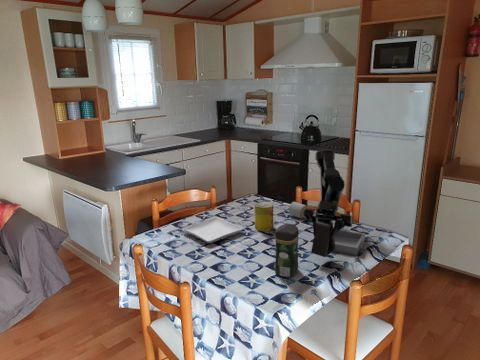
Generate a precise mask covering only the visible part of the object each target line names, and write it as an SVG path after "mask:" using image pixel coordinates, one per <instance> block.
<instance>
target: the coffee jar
mask: <svg viewBox="0 0 480 360" xmlns="http://www.w3.org/2000/svg"><path fill="white" fill-rule="evenodd" d="M274 235H275V236H274V241H275V262H274V263H275V266H274V267H275V268H274V273H275V274H276V275H277V276H278V277H281V278H292V277H294V276H295V275H296V274H297V272H298V270H299V227H298V226H297V225H296V224H292V223H284V224H281V225H280V226H278V227H277V229H276V230H275V232H274Z"/></svg>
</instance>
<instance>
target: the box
mask: <svg viewBox="0 0 480 360" xmlns="http://www.w3.org/2000/svg"><path fill="white" fill-rule="evenodd" d="M365 238H366V233H362V232H357V231H350V230H343V229H340V230H339V231H338V232H337V233H336V235H335V236H334V241H335V248H336V249H335V250H334V251H333V252H335V253H341V254H346V255H351V256H356V257H357V256H358V255H359V252H360V250H361V249H362V247H363V245H364V244H365Z"/></svg>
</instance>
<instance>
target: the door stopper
mask: <svg viewBox="0 0 480 360" xmlns="http://www.w3.org/2000/svg"><path fill="white" fill-rule="evenodd" d="M333 228H334V224H333V225H332V224H328V223H325V222H321V221H318V222H317V223H316V231H315V235H314V234H313V241H312V245H311V250H310V252H311V254H313V255H316V256H320V257H323V258H326V257H328V256H329V255H331V254H332V252H335V251H334V250H335V249H336V248H335V241H334V237H333V239H331V234H332V231H333Z"/></svg>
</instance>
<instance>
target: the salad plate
mask: <svg viewBox="0 0 480 360" xmlns="http://www.w3.org/2000/svg"><path fill="white" fill-rule="evenodd" d="M243 229H244V228H243V227H241V226H239V225H237V224H235V223H232V222H230V221H228V220H226V219H224V218H223V219H222V218H221V217H218V216H216V217H213V218H209V219H206V220H202V221H199V222H197V223H194V224H191V225H188V226H185V227H183V228H182V230H183V231H184V232H185V233H187V234H189V235H192V236H193V237H196V238H198V239H200V240H202V242H206V243H207V244H212V243H215V242H217V241H220V239H221V240H223V239H225V238H229V237H232V236H234V235H236V234H238V233H241V231H243ZM228 236H229V237H228Z"/></svg>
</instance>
